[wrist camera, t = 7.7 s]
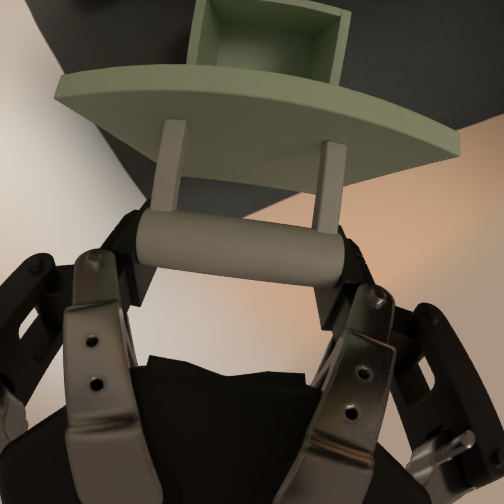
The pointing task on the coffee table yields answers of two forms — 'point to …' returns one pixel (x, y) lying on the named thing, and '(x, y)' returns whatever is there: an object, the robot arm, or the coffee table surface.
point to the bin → (271, 37)
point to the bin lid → (251, 158)
